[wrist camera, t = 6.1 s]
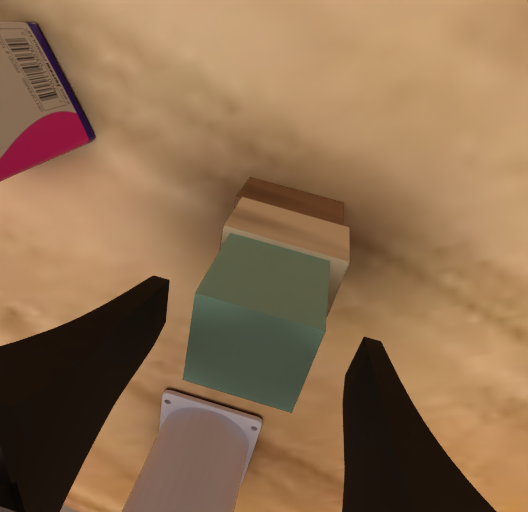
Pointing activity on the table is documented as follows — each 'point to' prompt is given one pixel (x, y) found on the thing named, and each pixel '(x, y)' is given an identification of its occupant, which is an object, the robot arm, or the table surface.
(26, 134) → the supplement box
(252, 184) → the tower base block
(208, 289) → the teal cube
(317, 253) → the tower top block
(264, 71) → the table surface
